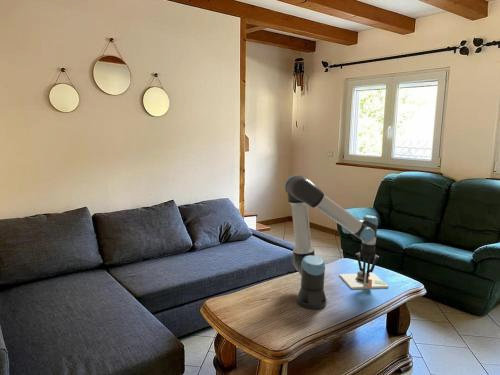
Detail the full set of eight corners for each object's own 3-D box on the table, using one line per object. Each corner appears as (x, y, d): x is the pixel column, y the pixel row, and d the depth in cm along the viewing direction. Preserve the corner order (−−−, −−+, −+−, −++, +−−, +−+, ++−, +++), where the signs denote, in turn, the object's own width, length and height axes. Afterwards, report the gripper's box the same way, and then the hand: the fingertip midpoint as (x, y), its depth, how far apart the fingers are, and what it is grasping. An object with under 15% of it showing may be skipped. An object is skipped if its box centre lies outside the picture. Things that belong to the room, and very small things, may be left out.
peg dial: (355, 276, 218) (355, 269, 217) (367, 276, 218) (367, 269, 218) (363, 287, 203) (364, 280, 202) (376, 287, 203) (376, 280, 202)
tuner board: (351, 289, 204) (351, 286, 204) (339, 275, 223) (339, 273, 223) (389, 287, 207) (389, 285, 207) (374, 274, 226) (374, 272, 225)
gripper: (356, 243, 201) (353, 283, 205) (380, 246, 198) (376, 287, 201) (356, 239, 208) (353, 278, 212) (380, 242, 205) (376, 282, 208)
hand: (364, 282), depth 207 cm, fingers closed
